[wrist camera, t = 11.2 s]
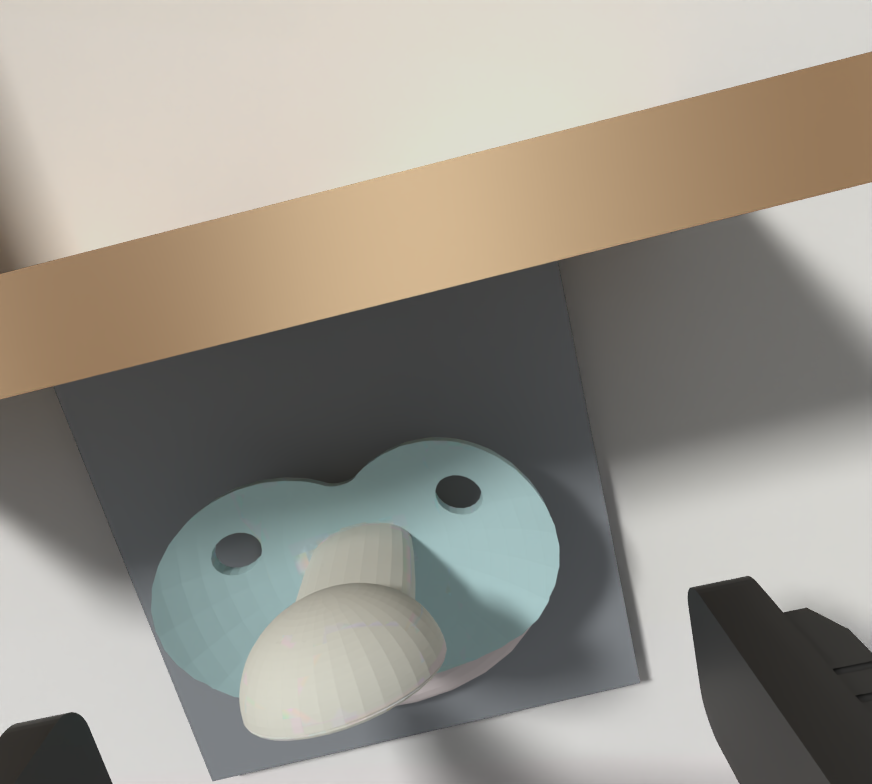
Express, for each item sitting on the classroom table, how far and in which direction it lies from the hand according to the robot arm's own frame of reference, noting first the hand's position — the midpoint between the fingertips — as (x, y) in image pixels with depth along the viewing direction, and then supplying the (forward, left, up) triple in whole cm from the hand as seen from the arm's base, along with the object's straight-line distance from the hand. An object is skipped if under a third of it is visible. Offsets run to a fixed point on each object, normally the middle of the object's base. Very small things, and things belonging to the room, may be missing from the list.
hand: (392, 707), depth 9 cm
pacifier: (+1, +1, -6) cm, 6 cm away
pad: (+1, 0, -6) cm, 6 cm away
